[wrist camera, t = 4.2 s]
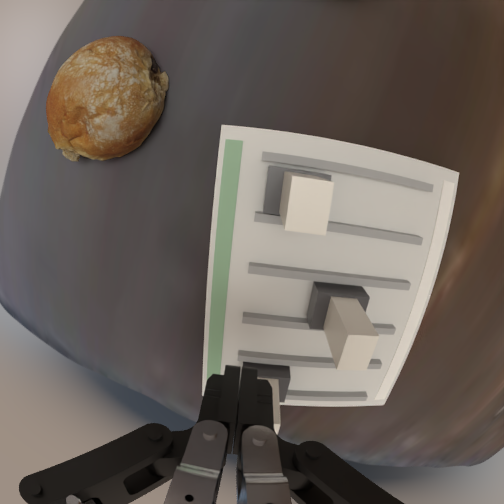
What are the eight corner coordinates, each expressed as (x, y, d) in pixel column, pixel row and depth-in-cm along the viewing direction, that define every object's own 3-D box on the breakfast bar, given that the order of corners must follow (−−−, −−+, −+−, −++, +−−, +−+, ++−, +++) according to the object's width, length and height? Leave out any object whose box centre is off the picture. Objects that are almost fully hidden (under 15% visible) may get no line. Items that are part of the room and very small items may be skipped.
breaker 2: (325, 173, 20) (354, 181, 13) (318, 215, 21) (344, 242, 14) (268, 165, 20) (271, 168, 13) (262, 207, 21) (263, 231, 14)
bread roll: (182, 132, 24) (199, 96, 17) (80, 192, 22) (53, 178, 14) (137, 51, 22) (141, 0, 14) (40, 103, 19) (12, 65, 12)
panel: (449, 171, 21) (464, 173, 19) (379, 395, 28) (385, 409, 26) (224, 127, 21) (220, 123, 19) (204, 385, 28) (200, 401, 26)
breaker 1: (289, 363, 25) (295, 423, 18) (283, 387, 26) (286, 446, 19) (243, 359, 25) (237, 418, 18) (240, 383, 26) (234, 442, 19)
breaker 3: (362, 286, 22) (394, 333, 16) (353, 319, 23) (378, 372, 17) (313, 281, 22) (332, 330, 16) (306, 315, 23) (320, 371, 17)
